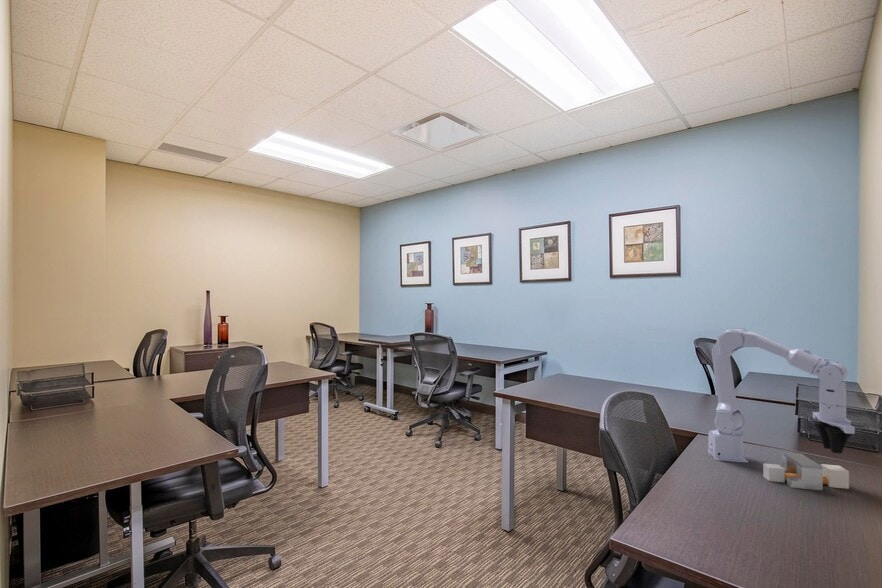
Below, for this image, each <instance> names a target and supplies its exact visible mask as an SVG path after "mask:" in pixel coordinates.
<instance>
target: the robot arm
mask: <svg viewBox="0 0 882 588" xmlns="http://www.w3.org/2000/svg"><path fill="white" fill-rule="evenodd" d="M742 348H759V349H761V350H764V351H767V352H768V353H771V354H774V355H777V356H779V357H780V358H784V359H786V360H787V362H788V364H789V366H792V367H794V368H796V369H799V370H801V371H803V372H806V373H808V374H810V375H812V376H817V378H818V380H819V389H818V393H819V394H818V397H819V398H818V405H819V407H818V409H819V411H812V418H813V419H814V420H818V422H816V421H815V422H814V423H813V425H814V427H815V428H816V430H817V432H818V434H819V436H820V439H821V443H822V446H823V448H824V449H828V450H829V449H830V450H831V453H833V454H842V453H843V450H844V449H845V445H846V443H847V441H848V440H849V438H850V437H851V436H853V435H855V433H856V431H855V430H856V427H855V426H853V425H852V424H851V423H852V420H850V419H848V418H847V390H846V386H847V385H846V380H845V379H846V378H847V376H848V370H847V368H846V367H845V366H844V365H843V364H841V363H840V362H839V361H834V360H831V361H830V358H828V357H822V356H819V355H817V354H814V353H811V350H810V349H808V348H804V349H803V348H794V349H791V348H790V347H787V346H785V345H783V344H782V343H781V344H780V343H778V342H776V341H774V340H771V338H769V337H768V338H767V337H765V336H763V335H761V334H758V332H755V331H751V330H747V329H745V328H740V327H737V328H733V329H727V330H725V331H723V332H722V333H721V334H719V335H718V336H717V340H716V342H715V343H714V346H713V347H712V349H711V358H712V365H713V372H714V381H715V388H716V395H717V406H716V408H715V418H714V421H713V422H714V425H715V427H716V429H713V430H709V431H708V435H707V436H708V437H707V441H708V442H707V444H708V445H707V446H708V450H707V453H708V454H709V455H710V456H711V457H713V459H714V460H715V461H723V462H725V461H726V462H736V463H749V460H748V459H746V458H745V457H744V447H743V446H744V444H743V443H744V437H743V436H744V435H743V432H744V431H743V430H742V427H743V426H744V425H745V423H746V418H745V416H744V415H743V413H742V411H741V408H740V407H741V406H739V404H738V403H737V397H736V396H737V395H736V390H735V389H736V388H735V383H734V382H735V381H734V375H733V369H732V362H731V356H732V355H733V354H734V353H736V352H737V351H738V350H740V349H742Z"/></svg>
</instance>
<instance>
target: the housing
mask: <svg viewBox="0 0 882 588" xmlns="http://www.w3.org/2000/svg"><path fill="white" fill-rule="evenodd" d="M781 467H783V468H784V469H785V473H794V474H797V478H792V477H787V481H786V484H787V486H789V487H790V488H792V489H803V490H804V489H805V490H813V491H815V490H816V491H823V489H824V487H823V485H824V484H823V467H822V466H821V464H819V463H817V462H815V461H814V460H812V459H810V457H808V456H806V455H805V454H803V453H798V452H797V453H796V452H784V451H781Z"/></svg>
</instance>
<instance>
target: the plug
mask: <svg viewBox="0 0 882 588" xmlns="http://www.w3.org/2000/svg"><path fill="white" fill-rule="evenodd" d="M762 465H763V467H762V469H763V472H762V473H763V474H762V476H763V477H764V479H766V480H767V481H768V482H774V483H775V482H776V483H785V482H787V477H792V478H797V474H794V473H785V469H784V468H783V467H782V465H780V464H777V463H762ZM820 466H822V467H823V485H827V486H828V487H829V488H836V489H837V488H838V489H847V490H848V489H850V471H849V470H847V469H846V468H844V467H843V466H841V465H838V464H837V465H835V464H825V463H822V464H820Z"/></svg>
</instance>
